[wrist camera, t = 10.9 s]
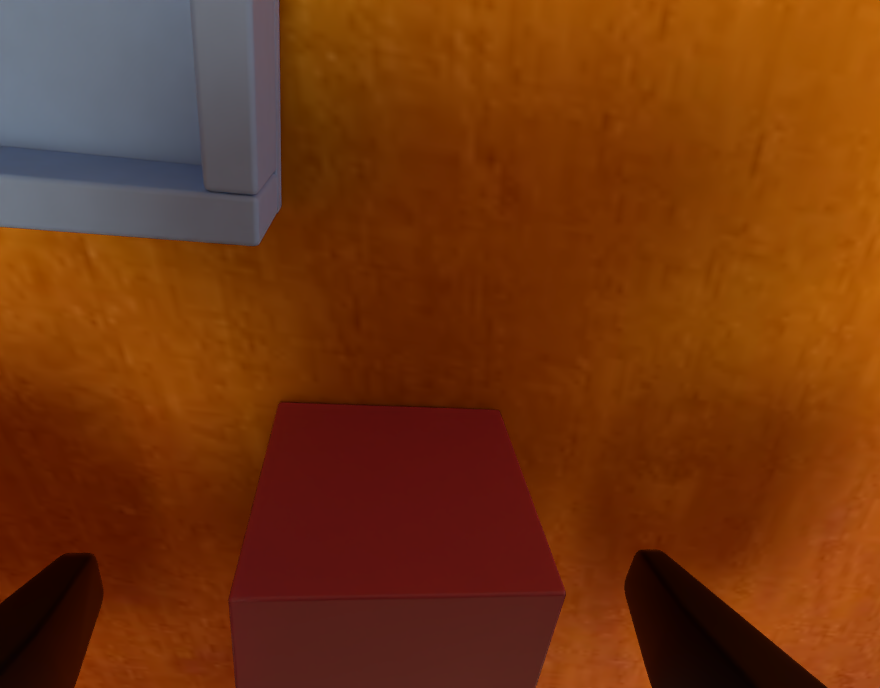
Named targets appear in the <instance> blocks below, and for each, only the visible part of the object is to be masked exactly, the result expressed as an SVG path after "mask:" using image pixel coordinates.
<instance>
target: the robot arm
mask: <svg viewBox="0 0 880 688" xmlns="http://www.w3.org/2000/svg"><path fill="white" fill-rule="evenodd" d="M624 590H625V596H626V599H627V603H628V606H629V610H630V614H631V617H632V621H633V624H634V628H635V631H636V635H637V639H638V642H639V646H640V649H641V653H642V656H643V660H644V664H645V667H646V670H647V674H648V677H649V680H650V683H651V686H652V688H827V687H826V686H825V685H824V684H822V683H821V682H820V681H819V680H818V679H816V678H815V677H814V676H813V675H812V674H810V673H809V672H808V671H807V670H806V669H804V668H803V667H802V666H801V665H799V664H798V663H797V662H796V661H795V660H793V659H792V658H791V657H790V656H789V655H787V654H786V653H785V652H784V651H783V650H781V649H780V648H779V647H778V646H777V645H775V644H774V643H773V642H772V641H770V640H769V639H768V638H767V637H766V636H764V635H763V634H762V633H761V632H760V631H758V630H757V629H756V628H755V627H754V626H752V625H751V624H750V623H749V622H748V621H746V620H745V619H744V618H743V617H741V616H740V615H739V614H738V613H737V612H735V611H734V610H733V609H732V608H731V607H729V606H728V605H727V604H726V603H725V602H723V601H722V600H721V599H720V598H719V597H717V596H716V595H715V594H714V593H712V592H711V591H710V590H709V589H708V588H706V587H705V586H704V585H703V584H702V583H700V582H699V581H698V580H697V579H696V578H694V577H693V576H692V575H691V574H690V573H688V572H687V571H686V570H685V569H683V568H682V567H681V566H680V565H679V564H677V563H676V562H675V561H674V560H673V559H671V558H670V557H669V556H668V555H667V554H665V553H664V552H662V551H660V550H639V551H638V552H636V554H635V556H634V558H633V561H632V563H631V566H630V569H629V571H628V574H627V576H626V579H625V584H624ZM102 600H103V585H102V581H101V576H100V572H99V568H98V563H97V559H96V557H95V556H94V555H93V554H91V553H67V554H64V555H62V556H60V557H59V558H57V559H56V560H55V561H53V562H52V563H51V564H50V565H48V566H47V567H46V568H45V569H43V570H42V571H41V572H39V573H38V574H37V575H36V576H34V577H33V578H32V579H31V580H29V581H28V582H27V583H26V584H24V585H23V586H22V587H21V588H19V589H18V590H17V591H15V592H14V593H13V594H12V595H10V596H9V597H8V598H7V599H5V600H4V601H3V602H2V603H0V688H74V687H75V684H76V681H77V678H78V675H79V672H80V669H81V666H82V663H83V660H84V657H85V654H86V651H87V647H88V644H89V641H90V638H91V635H92V632H93V629H94V626H95V623H96V620H97V617H98V614H99V611H100V608H101V604H102Z"/></svg>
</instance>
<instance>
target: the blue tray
mask: <svg viewBox="0 0 880 688" xmlns="http://www.w3.org/2000/svg"><path fill="white" fill-rule="evenodd" d="M280 208H281V122H280V37H279V0H0V227H9V228H22V229H35V230H49V231H62V232H75V233H88V234H101V235H114V236H127V237H140V238H153V239H166V240H179V241H192V242H205V243H219V244H232V245H245V246H257V245H259V244H260V242H261V240H262V238H263V237H264V235H265V233H266V231H267V230H268V228H269V226H270V224H271V223H272V221H273V219H274V217H275V215H276V214H277V213H278V212H279V210H280Z"/></svg>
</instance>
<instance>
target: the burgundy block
mask: <svg viewBox="0 0 880 688" xmlns="http://www.w3.org/2000/svg"><path fill="white" fill-rule="evenodd" d="M565 596H566V592H565V589H564V586H563V583H562V581H561V578H560V575H559V572H558V570H557V567H556V564H555V561H554V559H553V556H552V553H551V550H550V548H549V545H548V542H547V539H546V537H545V534H544V531H543V529H542V526H541V523H540V520H539V518H538V515H537V512H536V509H535V507H534V504H533V501H532V498H531V496H530V493H529V490H528V487H527V485H526V482H525V479H524V476H523V474H522V471H521V468H520V466H519V463H518V460H517V457H516V455H515V452H514V449H513V446H512V444H511V441H510V438H509V435H508V433H507V430H506V427H505V424H504V422H503V419H502V416H501V413H500V411H499V410H489V409H460V408H431V407H402V406H373V405H344V404H315V403H286V402H281V403H279V404H278V407H277V411H276V415H275V419H274V423H273V427H272V431H271V434H270V438H269V442H268V446H267V450H266V454H265V458H264V462H263V466H262V470H261V474H260V478H259V481H258V485H257V489H256V493H255V497H254V501H253V505H252V509H251V513H250V517H249V521H248V525H247V528H246V532H245V536H244V540H243V544H242V548H241V552H240V556H239V560H238V564H237V568H236V572H235V576H234V579H233V583H232V587H231V591H230V595H229V599H228V600H229V612H230V624H231V637H232V649H233V661H234V673H235V686H236V688H536V685H537V682H538V679H539V675H540V672H541V669H542V666H543V663H544V660H545V657H546V654H547V651H548V648H549V645H550V642H551V639H552V636H553V632H554V629H555V626H556V623H557V620H558V617H559V614H560V611H561V608H562V605H563V602H564V599H565Z"/></svg>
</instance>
